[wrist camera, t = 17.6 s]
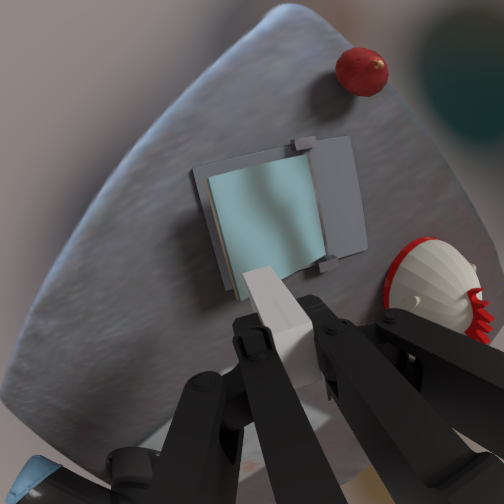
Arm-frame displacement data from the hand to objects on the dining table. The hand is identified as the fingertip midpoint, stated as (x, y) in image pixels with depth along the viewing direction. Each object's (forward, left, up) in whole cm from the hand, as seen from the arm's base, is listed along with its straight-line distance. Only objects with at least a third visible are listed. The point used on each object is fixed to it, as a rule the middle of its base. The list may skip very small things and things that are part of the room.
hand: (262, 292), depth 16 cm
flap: (+10, +1, -17) cm, 19 cm away
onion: (+18, +15, -18) cm, 29 cm away
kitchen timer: (+25, -14, -18) cm, 34 cm away
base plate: (+7, +1, -18) cm, 19 cm away
